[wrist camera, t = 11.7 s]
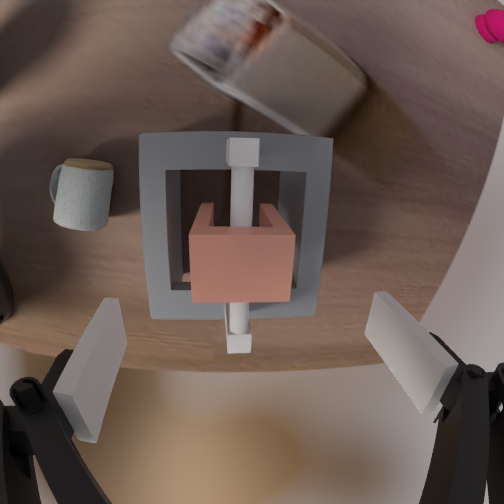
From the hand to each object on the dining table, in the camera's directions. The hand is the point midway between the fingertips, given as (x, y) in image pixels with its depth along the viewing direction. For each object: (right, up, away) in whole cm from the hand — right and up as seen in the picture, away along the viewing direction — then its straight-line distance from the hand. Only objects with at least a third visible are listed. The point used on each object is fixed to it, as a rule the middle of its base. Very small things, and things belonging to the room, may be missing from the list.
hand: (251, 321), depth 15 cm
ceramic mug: (-23, +12, +22) cm, 34 cm away
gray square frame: (-3, +9, +25) cm, 27 cm away
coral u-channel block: (-2, +6, +16) cm, 17 cm away
